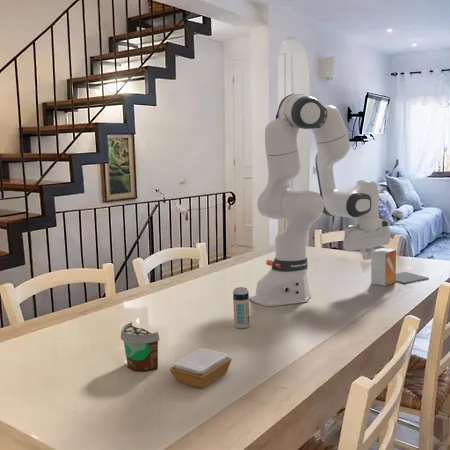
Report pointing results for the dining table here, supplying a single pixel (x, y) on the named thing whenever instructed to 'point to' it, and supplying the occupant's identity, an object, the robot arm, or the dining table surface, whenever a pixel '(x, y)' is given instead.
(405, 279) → the mat
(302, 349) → the dining table surface
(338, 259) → the dining table surface
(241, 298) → the supplement bottle
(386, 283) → the small box
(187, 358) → the soap dish
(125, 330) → the food container
